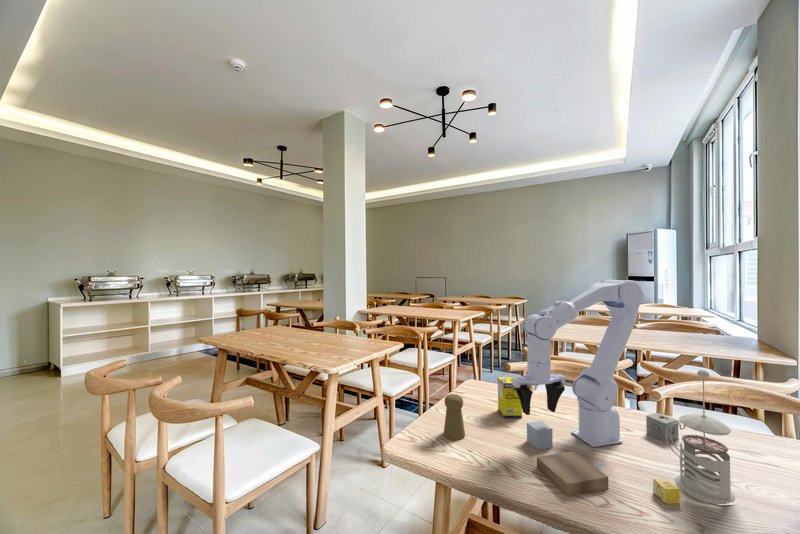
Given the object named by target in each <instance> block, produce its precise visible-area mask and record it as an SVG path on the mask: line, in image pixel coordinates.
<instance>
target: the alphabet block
mask: <svg viewBox="0 0 800 534" xmlns="http://www.w3.org/2000/svg"><path fill="white" fill-rule="evenodd" d="M652 482H653V483H652V486H653V487H652V492H653V494H654V495H656V497H657V498H659V499H660V500H661V501H662V502H663V503H664V504H680V496H681V495H680V493H681V489H680V488H679V487H678V486H677V485H676V484H674V483H673V482H672V481H670V480H669V479H667V478H653V481H652Z"/></svg>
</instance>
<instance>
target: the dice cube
mask: <svg viewBox="0 0 800 534" xmlns="http://www.w3.org/2000/svg"><path fill="white" fill-rule="evenodd" d="M645 419H646V420H645V421H646V425H645V426H646V434H647V435H650V436H652V437H654V438H656V439H658V440H660V441H663V442H664V443H667V440H666V429H667V427H668V426H669V425H670V424H672V423H675V422H678V421H679V420H678V419H676V418H673V417H671V416H668V415H665V414H663V413H660V412H657V413H652V414H647V415H646V417H645ZM671 426H672V425H671ZM671 426H670V427H669V428H668V430H667V439H668V442H672V440H673V441H675V440H678V439H679V424H674V426H673V427H672V430H671V436H672V440H671V437H670V428H671Z"/></svg>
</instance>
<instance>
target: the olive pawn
mask: <svg viewBox="0 0 800 534" xmlns="http://www.w3.org/2000/svg"><path fill="white" fill-rule="evenodd" d="M444 405H445V408H446V410H445V419H444V420H445V421H444V428H443V437H444V436H445V437H444V438H445V439H447V440H450V441H463V440H464V439H465V438H466V431H465V424H464V423H465V422H464V417H463V409H462V408H463V407H464V399H463V397H462V396H461V395H459V394H456V393H450V394H447V395H446V396H445V398H444ZM464 437H465V438H464Z"/></svg>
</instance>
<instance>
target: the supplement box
mask: <svg viewBox="0 0 800 534" xmlns="http://www.w3.org/2000/svg"><path fill="white" fill-rule="evenodd" d="M512 378H517V377H516V376H498V377H497V408H498V409H497V410H498V412H499V413H500V415H501V417H502V418H503V419H522V418H523V411H522V406H521V402H520V399H519V397H518V394H517V392H516V390H515V388H514V386H513V385H512Z"/></svg>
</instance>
